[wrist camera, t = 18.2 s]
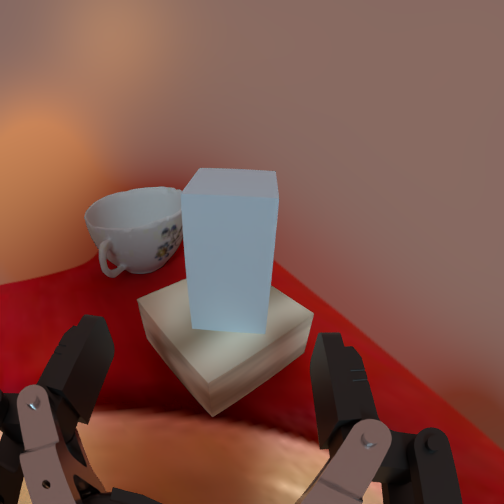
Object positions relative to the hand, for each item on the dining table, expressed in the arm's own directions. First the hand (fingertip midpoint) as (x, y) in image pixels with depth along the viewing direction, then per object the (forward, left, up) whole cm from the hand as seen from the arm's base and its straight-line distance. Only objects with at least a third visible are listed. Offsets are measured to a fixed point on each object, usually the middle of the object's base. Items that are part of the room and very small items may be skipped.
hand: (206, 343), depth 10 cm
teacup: (-21, +13, -12) cm, 27 cm away
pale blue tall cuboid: (-5, +9, -7) cm, 12 cm away
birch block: (-5, +8, -12) cm, 16 cm away
